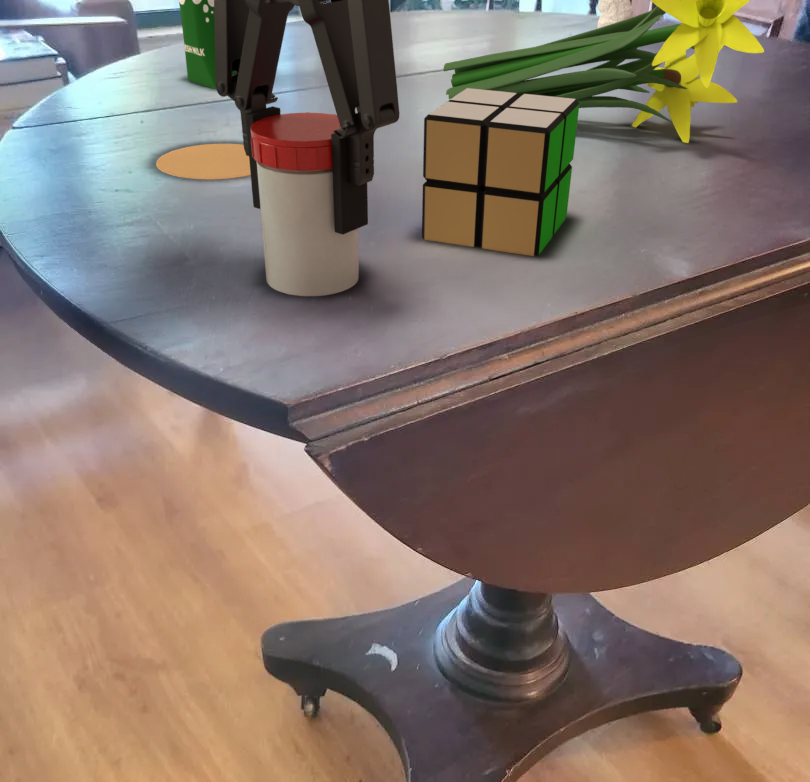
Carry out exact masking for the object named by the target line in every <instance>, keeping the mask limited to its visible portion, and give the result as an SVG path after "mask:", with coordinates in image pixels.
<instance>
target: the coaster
mask: <svg viewBox="0 0 810 782" xmlns="http://www.w3.org/2000/svg"><path fill="white" fill-rule="evenodd" d="M155 165H156V168H157V169H158V170H159V171H160V172H162V173H164V174H167V175H170V176H174V177H178V178H183V179H191V180H227V179H237V178H238V179H239V178H244V177H248V176H251V173H250V162H249V156H246V153H245V150H244V144H243V143H240V144H239V143H207V144H205V143H204V144H198V145H197V144H196V145H190V146H186V147H181V148H178V149H174V150H171V151H169V152H166V153H164V154H162V155H161V156H160V157H158V159H157V160H156V164H155Z"/></svg>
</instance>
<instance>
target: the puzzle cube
mask: <svg viewBox="0 0 810 782" xmlns="http://www.w3.org/2000/svg"><path fill="white" fill-rule="evenodd" d="M579 113H580V108H579V102H578V101H577V100H576V99H571V98H561V97H552V96H542V95H532V94H523V95H522V96H521V97H520V96H519V95H518V94H517V93H511V92H501V91H492V90H482V89H472V88H466V89H465V90H463V91H462V92H460V93H459V94H457V95H456V96H455V97H453V98H452V99H448V101H446V102H444V103H443V104H441V105H440V106H439V107H436V108H435V109H434V110H432V111H431V112H430V113H428V114H427V115H426V116H425V117H424V119H423V154H422V155H423V158H422V159H423V161H422V163H423V164H422V177H423V178H424V180H425V182H424V183H423V184H422V202H421V203H422V204H421V205H422V206H421V211H422V212H421V238H422V239H423V240H424V241H431V242H436V243H443V244H450V245H456V246H464V247H470V248H478V247H479V248H481V249H482V250H483V249H485V250H490V251H497V252H503V253H509V254H517V255H523V256H530V257H537V256H538V257H539V256H540V254H541V253H542V252H543V250H544V249H545V248H546V246H547V245H548V244H549V242H550V241H551V240H552V239H553V236H554V235H555V234H556V233H557V231H558V230H559V229H560V227H561V226H562V225H563V224H564V222H565V220H566V219H567V216H568V207H569V198H570V190H571V181H572V179H571V178H572V172H573V166H572V165H571V162H572V161H573V160H574V154H575V145H576V139H577V128H578V119H579Z"/></svg>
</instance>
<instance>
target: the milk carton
mask: <svg viewBox="0 0 810 782" xmlns="http://www.w3.org/2000/svg"><path fill="white" fill-rule="evenodd" d="M178 4H179V11H180V20H181V28H182V35H183V44H184V53H185V56H184V57H185V64H186V75H187V76H186V77H187V81H189V82H192V83H195V84H198V85H200V86H201V85H202V86H204V87H208V88H210V89H213V90H216V83H215V27H214V0H178ZM235 74H236V72H235V71H232V75H235Z"/></svg>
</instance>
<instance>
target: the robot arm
mask: <svg viewBox="0 0 810 782" xmlns="http://www.w3.org/2000/svg"><path fill="white" fill-rule="evenodd" d="M328 1H329V0H214V27H215V83H216V89H215V90H216V92H217V94H218V95H219V96H220V97H222V98H224V97H228V98H230V99H231V100H232V101H233V102H234V105H235V107H236V108H237V110H239V112H240V121H241V130H242V131H241V133H242V139H243V140H242V142H243V143H242V145H244V150H245V153H246V156H249V162H250V173H251V175H250V182H251V195H252V205H253V208H256V209H258V210H260V199H259V187H258V175H257V163H256V160H255V159H254V158H253V157H252V147H251V125H252V124H253V123H255V122H256V121H258V120H260V119H263V118H266V117H270V116H275V115H281V114H282V113H281V107H277V106H273V105H272V106H269V107H267V105H270V104H274V103H276V102H277V101H278V99H279V97H277V96H276V95H275V94H274V93H273V90H274V86H275V80H276V76H277V71H278V66H279V60H280V56H281V52H282V45H283V40H284V37H285V31H286V26H287V22H288V21H287V20H288V16H289V13H290V12H291V11H292V10H293V9H294V7H295V6H296V7H298V8H299V10H300V14H301V17H302V18H303V21H304V22H305V23H306V24H308V25H309V26H310V28H311V31H312V34H313V38H314V41H315V45H316V48H317V51H318V56H319V58H320V62H321V65H322V69H323V73H324V76H325V79H326V82H327V86H328V89H329V92H330V96H331V99H332V102H333V103H332V104H333V106H334V110H335V113H336V115H337V117H338V120H339V123H340V127H341V129H338V130H335V131H334V134H331V143H332V170H333V197H334V224H335V232H336V233H339V234H342V235H343V234H346V233H348V232H350V231H353V230H355V229H358V230H359V229H360V228H363V227H365V226H367V225H368V224H369V207H368V205H369V204H368V202H369V201H368V197H369V196H368V183H369V182H372V181H373V178H374V175H375V143H374V141H375V140H374V139H375V133H376V131H377V129H380V128H383V127H387V126H390V125H392V124H395V123H397V122H398V121H399V119H400V103H399V94H398V93H399V92H398V83H397V71H396V62H395V50H394V41H393V40H394V39H393V31H392V30H393V29H392V20H391V11H390V1H389V0H330V2H328ZM232 71H235V72H236V74H235V75H232ZM356 111H357V112H356Z"/></svg>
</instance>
